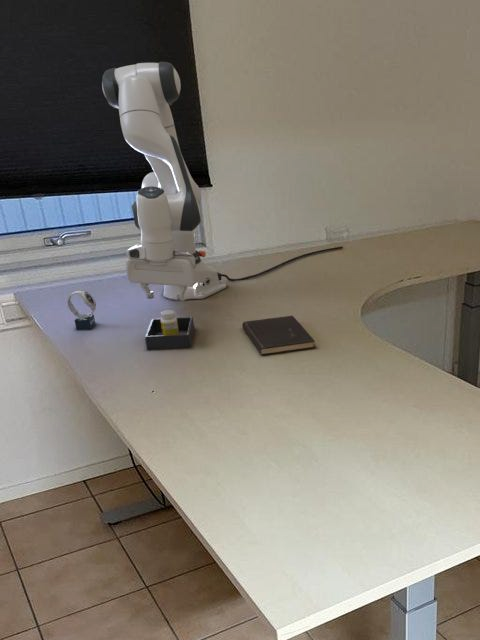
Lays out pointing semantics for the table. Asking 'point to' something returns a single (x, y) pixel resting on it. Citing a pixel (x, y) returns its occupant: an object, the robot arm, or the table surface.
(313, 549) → the table surface
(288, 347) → the hardcover book
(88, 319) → the watch
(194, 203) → the robot arm
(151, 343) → the tray
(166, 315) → the supplement bottle
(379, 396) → the table surface
